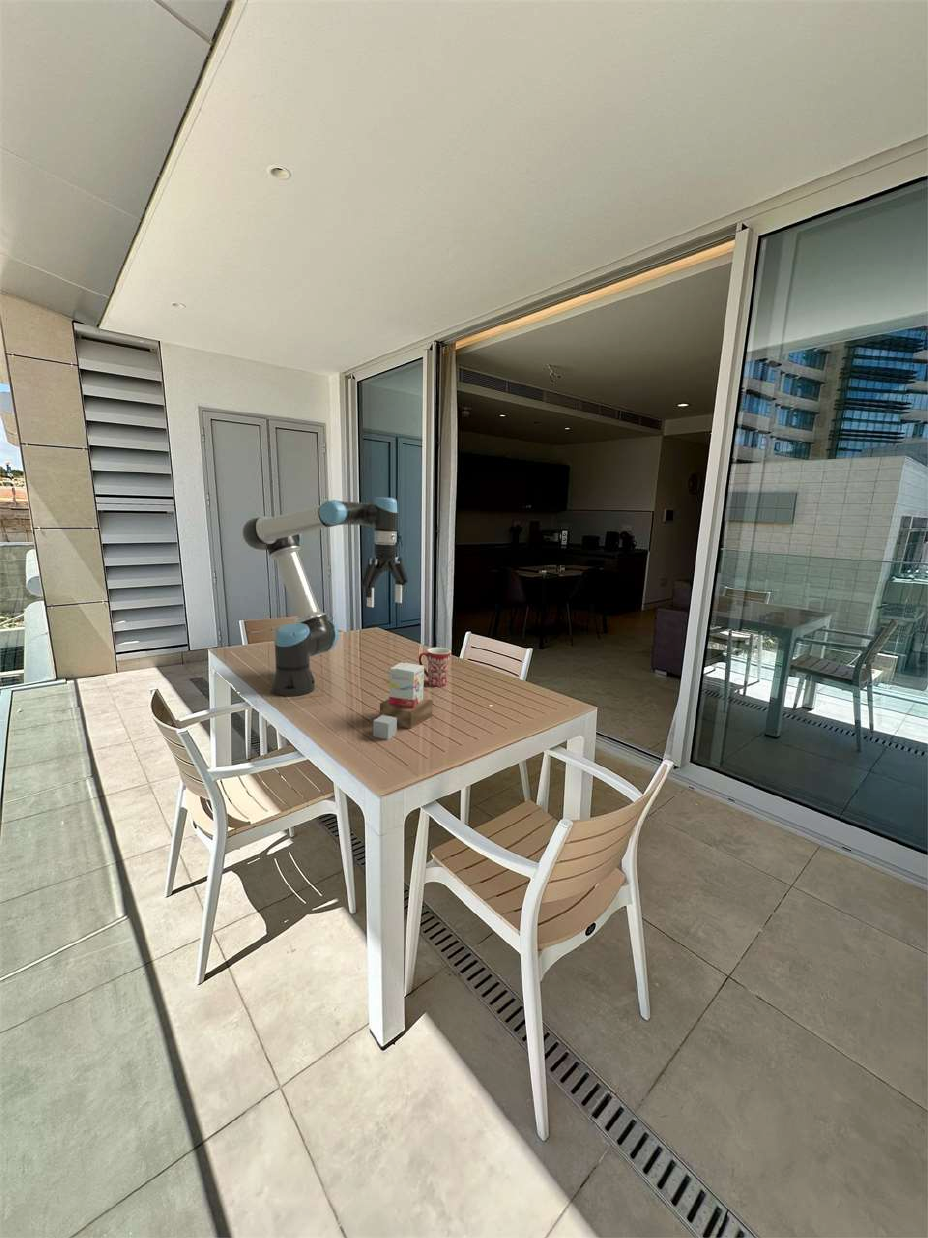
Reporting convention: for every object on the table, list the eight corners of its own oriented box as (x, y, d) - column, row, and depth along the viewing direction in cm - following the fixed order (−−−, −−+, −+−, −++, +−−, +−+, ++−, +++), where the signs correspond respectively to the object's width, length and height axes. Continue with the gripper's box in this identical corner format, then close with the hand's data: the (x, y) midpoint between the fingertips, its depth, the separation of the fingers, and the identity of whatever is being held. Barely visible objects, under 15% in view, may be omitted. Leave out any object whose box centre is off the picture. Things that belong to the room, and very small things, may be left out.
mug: (452, 682, 197) (454, 649, 195) (444, 689, 189) (445, 654, 186) (423, 677, 202) (424, 645, 199) (413, 684, 193) (414, 650, 190)
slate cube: (373, 736, 146) (373, 720, 145) (382, 730, 151) (382, 714, 150) (388, 740, 145) (388, 723, 144) (396, 733, 149) (396, 717, 148)
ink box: (413, 708, 154) (413, 671, 152) (388, 704, 157) (388, 668, 154) (424, 699, 162) (424, 664, 160) (400, 695, 165) (400, 661, 162)
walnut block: (379, 721, 158) (379, 703, 157) (402, 709, 169) (402, 692, 167) (410, 730, 153) (411, 711, 151) (432, 717, 163) (432, 700, 162)
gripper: (365, 545, 159) (365, 610, 164) (418, 543, 179) (416, 602, 183) (350, 543, 164) (350, 607, 168) (403, 542, 184) (401, 599, 188)
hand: (384, 604), depth 176 cm, fingers open, 13 cm apart
